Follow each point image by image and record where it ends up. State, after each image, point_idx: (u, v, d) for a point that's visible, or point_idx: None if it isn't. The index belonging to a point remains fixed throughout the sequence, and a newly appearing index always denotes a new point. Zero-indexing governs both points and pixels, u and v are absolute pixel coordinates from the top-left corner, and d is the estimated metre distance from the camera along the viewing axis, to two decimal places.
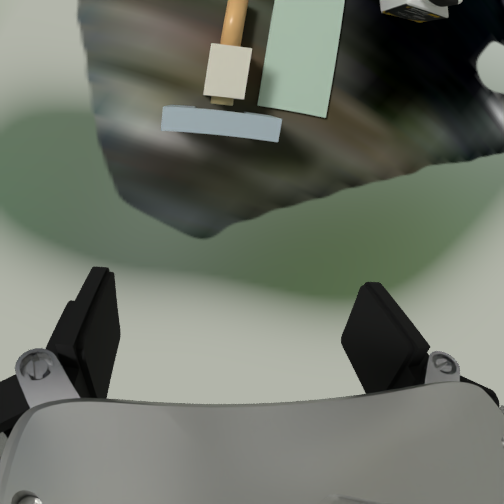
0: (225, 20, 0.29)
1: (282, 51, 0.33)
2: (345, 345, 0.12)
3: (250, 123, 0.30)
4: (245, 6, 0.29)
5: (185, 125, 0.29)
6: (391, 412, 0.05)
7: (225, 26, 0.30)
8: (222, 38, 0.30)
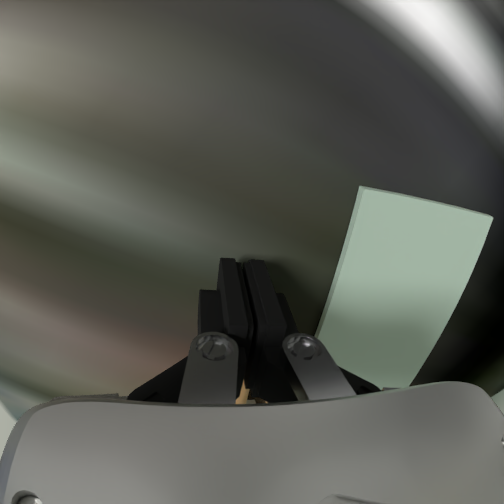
0: None
1: None
2: None
3: None
4: None
5: None
6: (391, 412, 0.05)
7: None
8: None
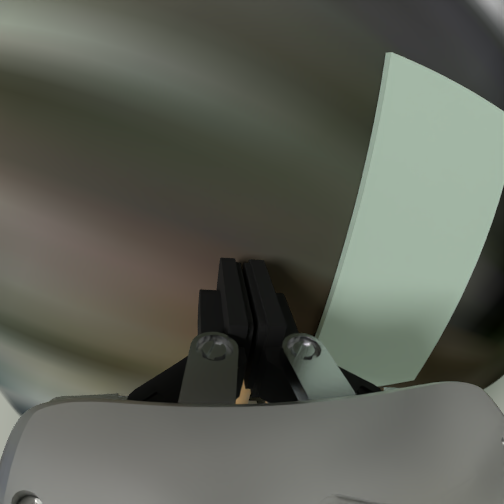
0: None
1: (371, 290, 0.14)
2: None
3: None
4: None
5: None
6: (391, 412, 0.05)
7: None
8: None
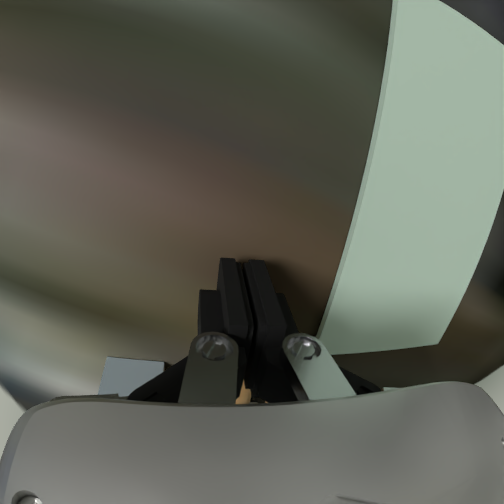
0: None
1: (396, 221, 0.13)
2: None
3: None
4: None
5: None
6: (391, 412, 0.05)
7: None
8: None
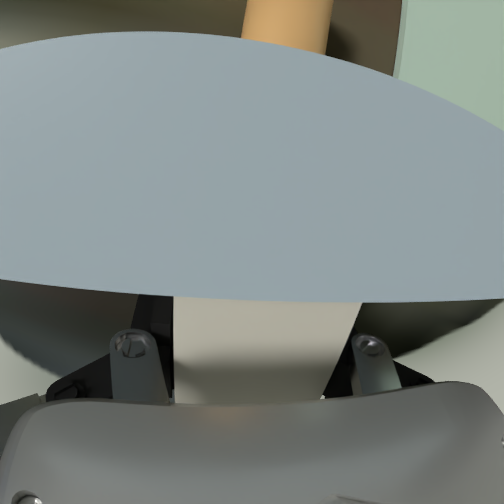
0: None
1: None
2: None
3: None
4: (327, 18, 0.07)
5: (32, 226, 0.03)
6: (391, 412, 0.05)
7: None
8: None
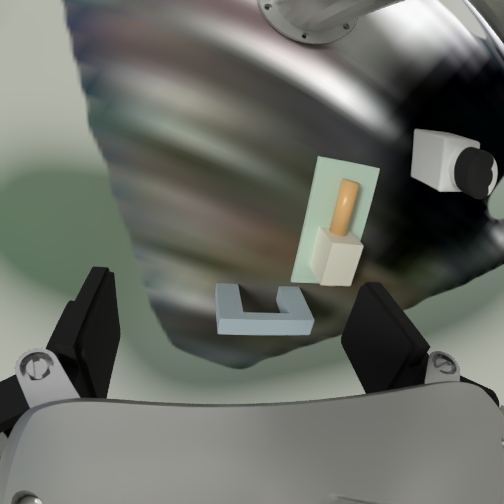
0: (338, 205, 0.39)
1: (316, 234, 0.42)
2: (345, 345, 0.12)
3: (289, 325, 0.39)
4: (357, 191, 0.38)
5: (238, 330, 0.39)
6: (391, 412, 0.05)
7: (338, 212, 0.39)
8: (334, 223, 0.40)
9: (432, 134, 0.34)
